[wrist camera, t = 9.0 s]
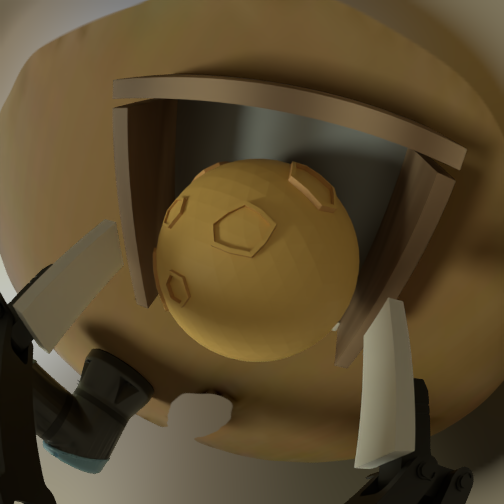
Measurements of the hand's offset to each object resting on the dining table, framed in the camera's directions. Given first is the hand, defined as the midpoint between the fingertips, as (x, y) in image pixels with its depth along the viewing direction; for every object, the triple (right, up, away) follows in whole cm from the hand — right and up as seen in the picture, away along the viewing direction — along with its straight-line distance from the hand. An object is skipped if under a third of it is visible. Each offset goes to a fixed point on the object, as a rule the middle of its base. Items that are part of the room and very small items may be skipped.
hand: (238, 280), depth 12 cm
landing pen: (+2, +4, +6) cm, 8 cm away
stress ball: (+2, +4, +6) cm, 7 cm away
